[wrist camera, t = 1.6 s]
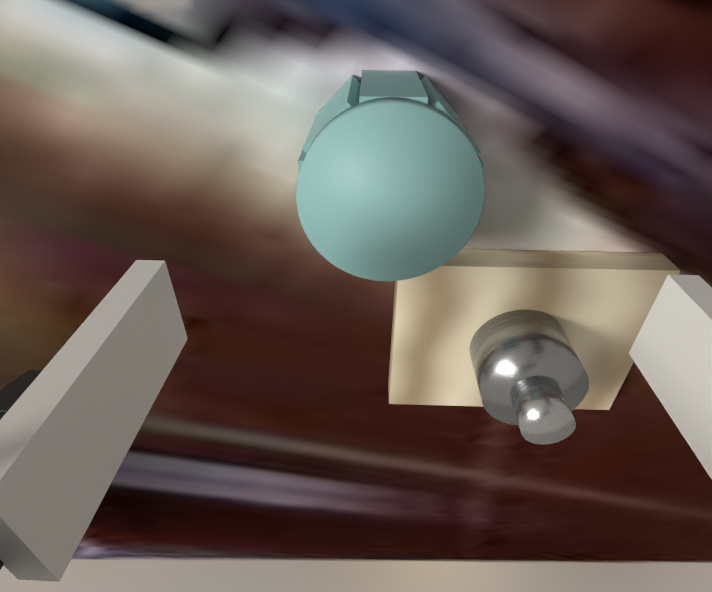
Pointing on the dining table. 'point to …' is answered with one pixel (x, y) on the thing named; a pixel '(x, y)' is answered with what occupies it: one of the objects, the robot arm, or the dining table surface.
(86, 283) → the dining table surface
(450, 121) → the cap
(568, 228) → the dining table surface
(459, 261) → the board
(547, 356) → the knobbed metal weight
